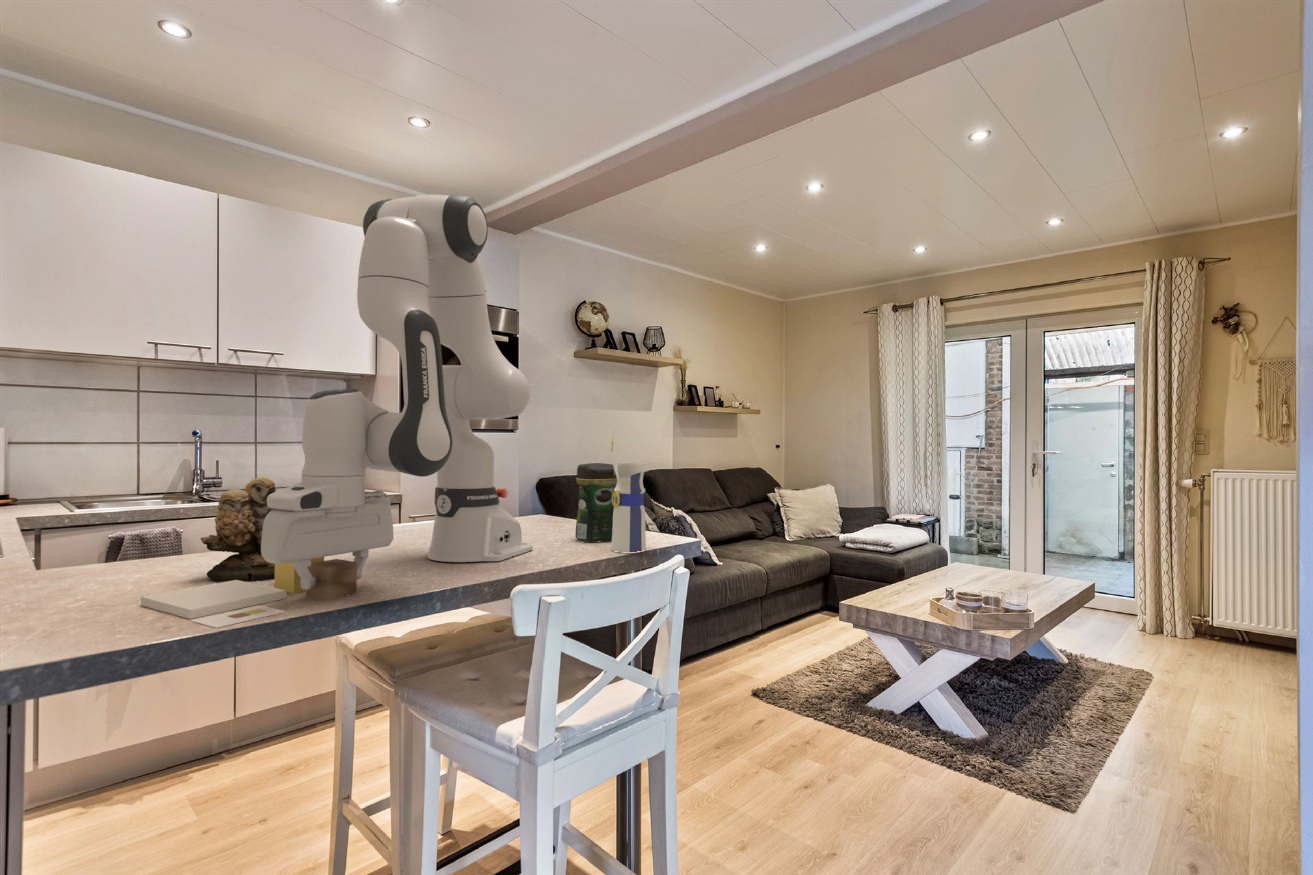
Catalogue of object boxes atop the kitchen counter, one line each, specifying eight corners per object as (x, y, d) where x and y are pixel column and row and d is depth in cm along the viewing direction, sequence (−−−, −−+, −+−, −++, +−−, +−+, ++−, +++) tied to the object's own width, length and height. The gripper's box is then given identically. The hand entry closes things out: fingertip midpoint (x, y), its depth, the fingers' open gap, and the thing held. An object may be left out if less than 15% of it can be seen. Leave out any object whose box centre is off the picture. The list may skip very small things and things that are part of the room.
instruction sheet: (259, 605, 94) (259, 604, 94) (285, 611, 91) (285, 610, 91) (190, 620, 86) (190, 619, 86) (216, 628, 83) (216, 626, 83)
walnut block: (335, 590, 104) (336, 558, 104) (356, 594, 102) (357, 562, 102) (305, 596, 100) (306, 563, 100) (327, 601, 98) (327, 567, 98)
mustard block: (304, 583, 108) (304, 553, 108) (323, 587, 106) (324, 556, 106) (274, 589, 104) (274, 558, 104) (293, 593, 101) (294, 561, 101)
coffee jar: (604, 536, 164) (606, 462, 164) (621, 540, 158) (622, 463, 157) (570, 539, 159) (571, 462, 159) (585, 544, 152) (587, 464, 152)
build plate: (236, 587, 104) (236, 579, 104) (286, 598, 98) (286, 590, 98) (140, 605, 93) (141, 596, 93) (190, 618, 87) (190, 609, 87)
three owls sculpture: (206, 588, 104) (207, 480, 104) (194, 576, 113) (195, 477, 113) (328, 573, 116) (329, 476, 116) (309, 563, 125) (309, 473, 125)
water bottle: (619, 555, 139) (621, 437, 139) (603, 548, 146) (605, 436, 146) (654, 552, 142) (656, 437, 142) (636, 546, 150) (638, 437, 150)
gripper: (377, 488, 112) (375, 569, 112) (255, 497, 94) (253, 594, 94) (403, 490, 109) (401, 574, 109) (282, 499, 91) (280, 600, 91)
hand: (332, 583), depth 101 cm, fingers open, 6 cm apart
